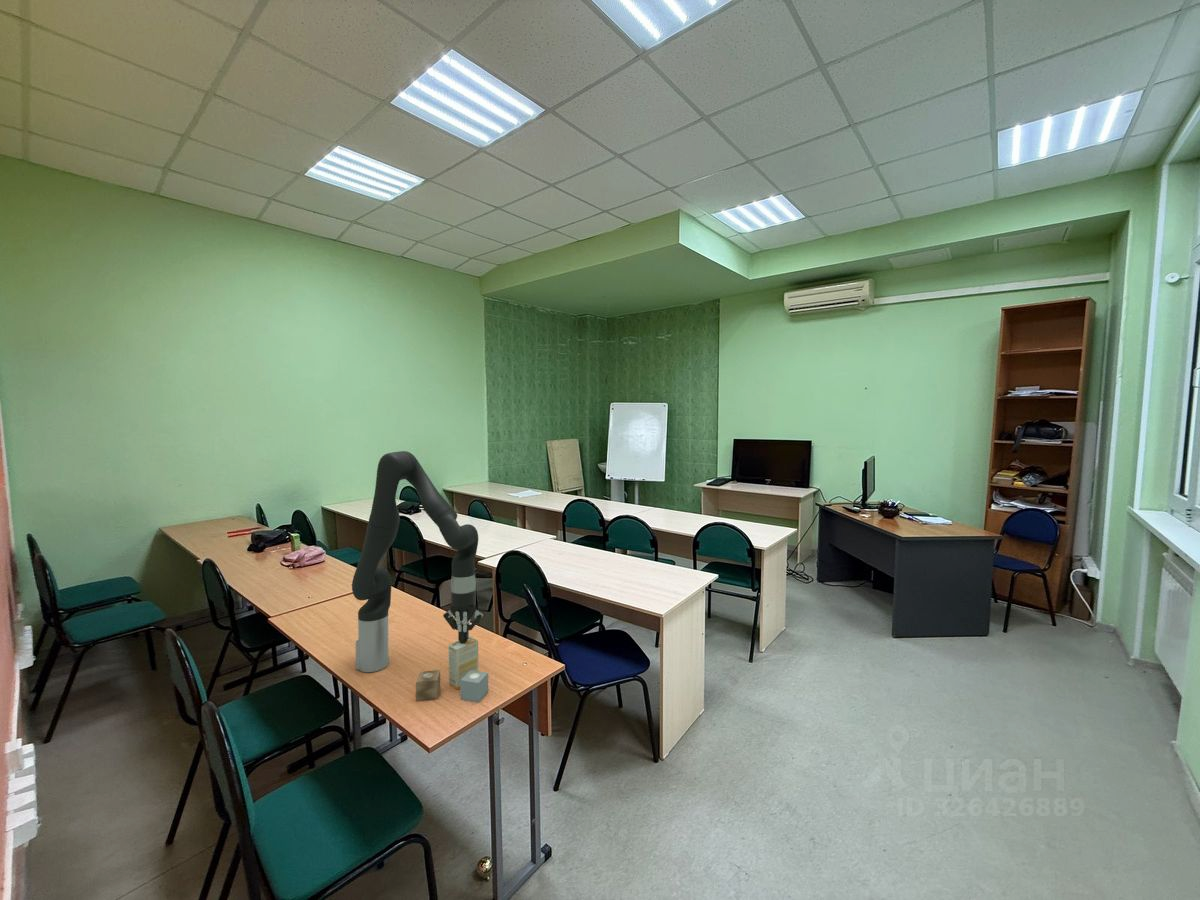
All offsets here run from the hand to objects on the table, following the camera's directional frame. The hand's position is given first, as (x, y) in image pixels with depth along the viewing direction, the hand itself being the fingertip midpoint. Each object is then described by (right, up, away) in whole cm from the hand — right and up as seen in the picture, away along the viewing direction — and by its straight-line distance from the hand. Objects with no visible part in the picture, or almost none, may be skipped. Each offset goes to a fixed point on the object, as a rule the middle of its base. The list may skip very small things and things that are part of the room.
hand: (463, 642), depth 149 cm
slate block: (+5, -14, -7) cm, 16 cm away
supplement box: (0, -13, +1) cm, 13 cm away
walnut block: (-9, -13, -7) cm, 17 cm away
